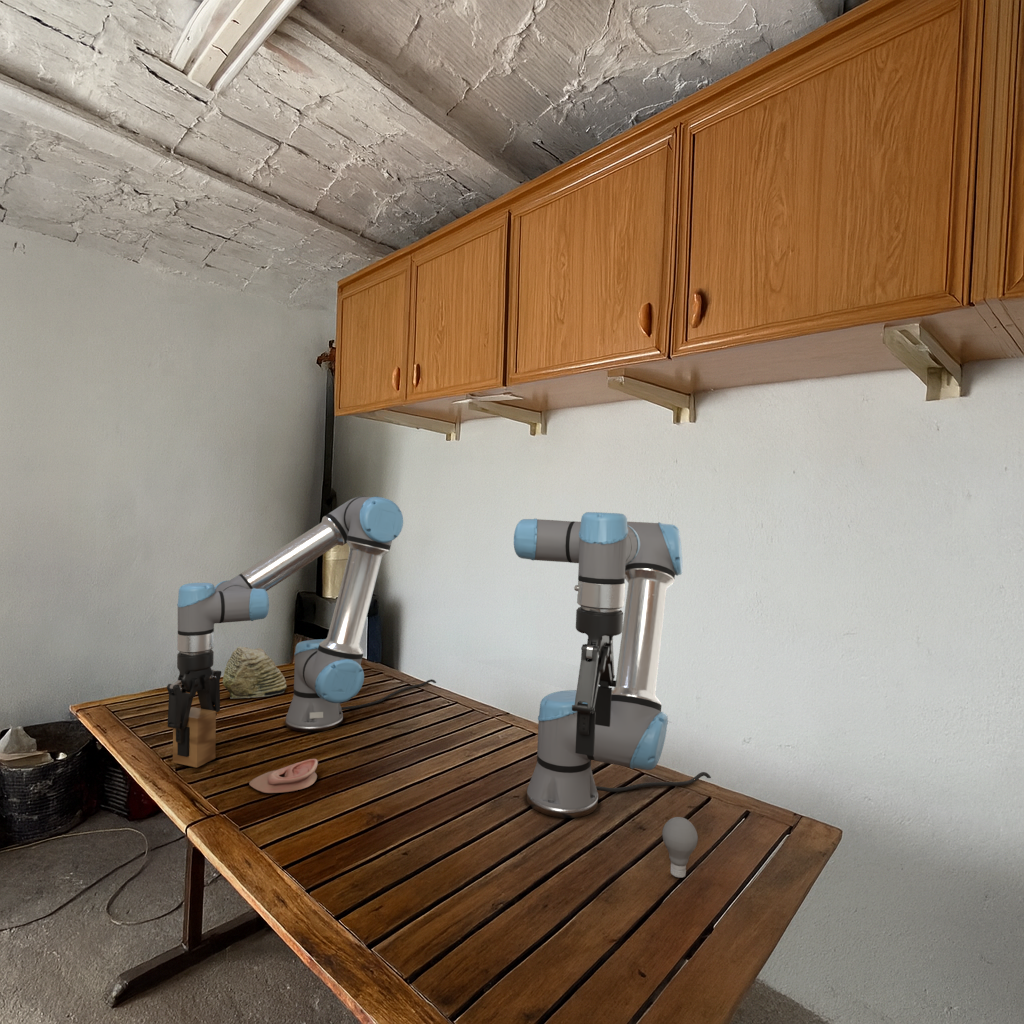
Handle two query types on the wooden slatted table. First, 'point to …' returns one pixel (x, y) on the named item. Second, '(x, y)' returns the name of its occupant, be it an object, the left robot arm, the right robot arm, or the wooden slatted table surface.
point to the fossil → (252, 674)
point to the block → (198, 738)
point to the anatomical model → (287, 778)
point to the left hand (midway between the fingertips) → (194, 749)
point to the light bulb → (679, 843)
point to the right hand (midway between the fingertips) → (593, 738)
